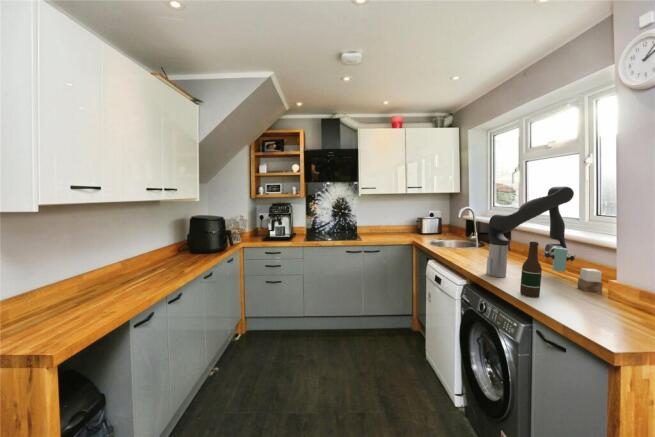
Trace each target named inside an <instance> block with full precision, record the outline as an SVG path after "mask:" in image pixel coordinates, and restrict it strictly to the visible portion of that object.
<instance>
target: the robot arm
mask: <svg viewBox="0 0 655 437" xmlns="http://www.w3.org/2000/svg"><path fill="white" fill-rule="evenodd" d="M574 194H575V193H574V190H573V188H571V187H570V186H563V185H562V186H552V187H550V188H549V189H548V192H547V195H546V196H540V197H536V198H533V199H531V200H528V201H526V202H524V203H523V204H521V206H520V207H519V208H518V210H517V211H516V212H513V213H510V214H507V215H503V214H494V215H492V216H491V217H490V218H489V221H488V239H489V247H488V248H489V249H488V256H487V257H486V258H487V259H486V271H485V272H486V274H487V275H488V276H489V277H495V278H496V277H497V278H505V277H507V267H508V254H509V239H508V238H506V237H505V235H504V234H505V233H509V232H512V231H513V230H515V229H516V228H517V227H519V226H520V225H523V224H524V223H526V222H528V221H530V220H532V219H534V218H536V217H538V216H540V215H542V214H544V213H546V212H548V213H549V238H550V239H551V240H556V241H558V242H559V243H553V242H549V243H547V244H546V245H545V247H544V251H543V257H545V258H546V259H549V258H550V259H551V260H553V259H554V257H555V255H554V249H555V247H557V248H566V249H567V250H568V247H567V244H566V240H565V239H566V238H565V230H566V229H565V228H566V224H565V222H564V218H563V217H562V215H561V212H560V209H559V206H561V205H564V204H567V203H569V202H570V201H571V200H573V198H574V196H575V195H574ZM575 260H576V254H574V253H573V254H571V255H569V254H568V253H567V259H566V262H569V261H571V262H574V261H575Z"/></svg>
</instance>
